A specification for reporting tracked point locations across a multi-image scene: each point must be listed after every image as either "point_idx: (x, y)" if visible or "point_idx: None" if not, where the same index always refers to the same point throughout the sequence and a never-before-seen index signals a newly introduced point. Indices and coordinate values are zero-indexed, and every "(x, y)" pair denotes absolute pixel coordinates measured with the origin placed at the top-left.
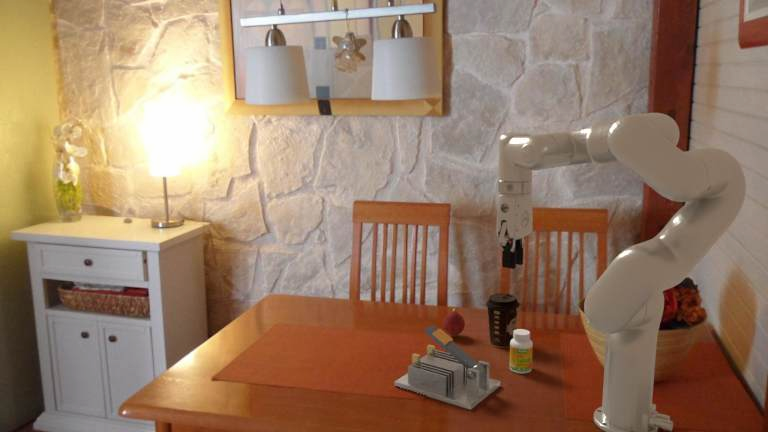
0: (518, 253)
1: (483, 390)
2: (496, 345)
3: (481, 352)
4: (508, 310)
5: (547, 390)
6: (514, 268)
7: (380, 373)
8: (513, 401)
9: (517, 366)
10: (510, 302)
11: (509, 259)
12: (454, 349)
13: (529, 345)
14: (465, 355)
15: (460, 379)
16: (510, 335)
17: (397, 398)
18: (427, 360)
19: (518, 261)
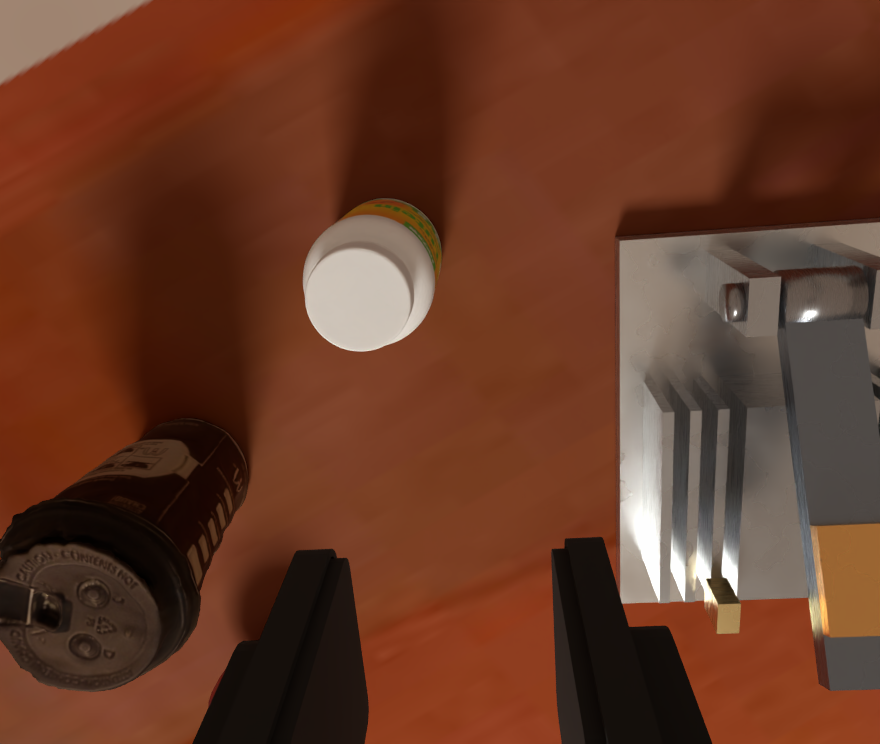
0: (315, 734)
1: (758, 251)
2: (246, 469)
3: (343, 488)
4: (148, 519)
5: (518, 19)
6: (600, 537)
7: (793, 681)
8: (729, 98)
9: (439, 248)
10: (93, 548)
11: (694, 703)
12: (854, 469)
13: (380, 222)
14: (819, 403)
15: (752, 381)
16: (183, 441)
17: None
18: (799, 563)
19: (346, 621)
